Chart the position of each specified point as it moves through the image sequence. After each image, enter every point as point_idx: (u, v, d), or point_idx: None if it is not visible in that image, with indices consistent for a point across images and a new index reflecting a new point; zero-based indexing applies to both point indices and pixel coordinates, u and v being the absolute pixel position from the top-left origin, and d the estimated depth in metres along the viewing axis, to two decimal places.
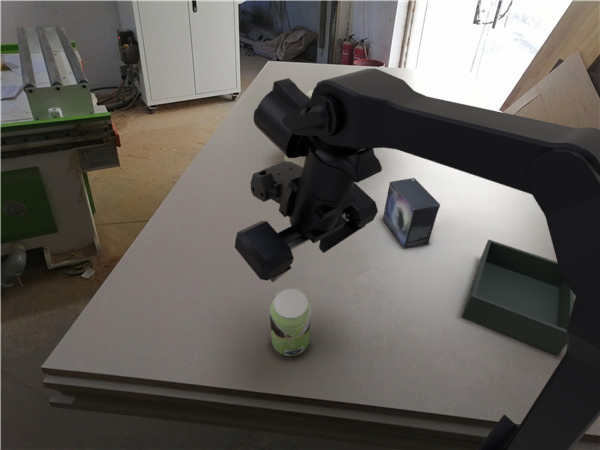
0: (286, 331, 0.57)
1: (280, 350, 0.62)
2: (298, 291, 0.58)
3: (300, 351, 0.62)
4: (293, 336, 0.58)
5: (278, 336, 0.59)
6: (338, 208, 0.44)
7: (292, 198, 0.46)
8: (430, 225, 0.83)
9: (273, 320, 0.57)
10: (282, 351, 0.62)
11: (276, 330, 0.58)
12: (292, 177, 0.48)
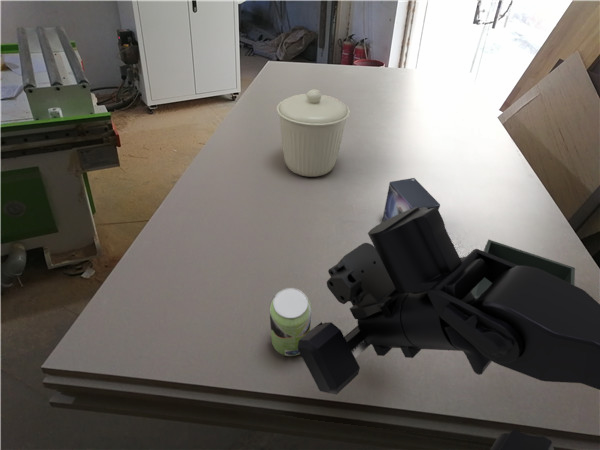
0: (286, 331, 0.57)
1: (280, 350, 0.62)
2: (298, 291, 0.58)
3: None
4: (293, 336, 0.58)
5: (278, 336, 0.59)
6: None
7: None
8: None
9: (273, 320, 0.57)
10: (282, 351, 0.62)
11: (276, 330, 0.58)
12: (378, 282, 0.42)
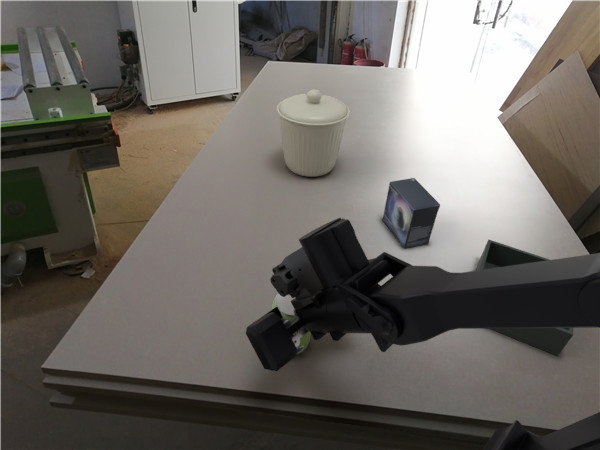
0: None
1: None
2: None
3: (300, 350, 0.62)
4: (294, 334, 0.58)
5: None
6: None
7: (309, 303, 0.50)
8: (430, 225, 0.83)
9: None
10: None
11: None
12: (312, 278, 0.50)
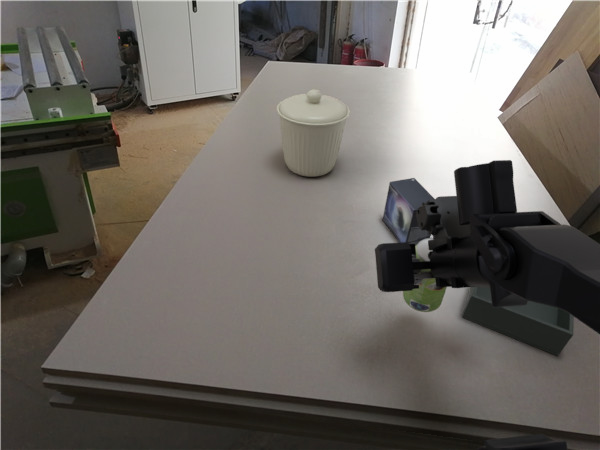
0: None
1: (406, 298, 0.63)
2: None
3: (425, 309, 0.61)
4: (423, 284, 0.58)
5: None
6: None
7: (443, 245, 0.49)
8: None
9: None
10: (408, 300, 0.62)
11: None
12: (457, 225, 0.49)
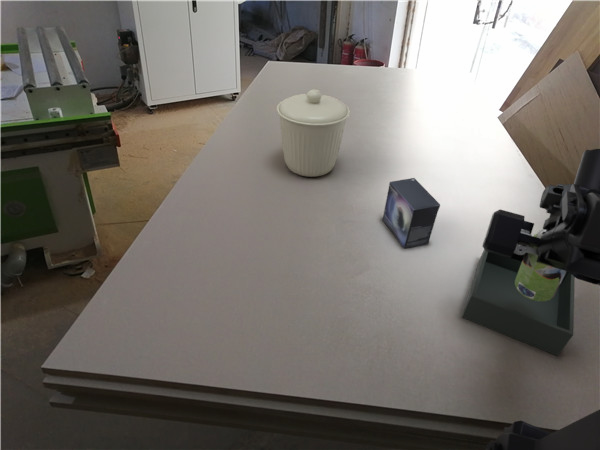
0: (530, 256, 0.61)
1: (516, 280, 0.66)
2: None
3: (530, 295, 0.64)
4: (533, 267, 0.61)
5: (523, 261, 0.64)
6: (565, 263, 0.51)
7: (554, 224, 0.54)
8: (430, 225, 0.83)
9: None
10: (517, 283, 0.66)
11: (525, 254, 0.63)
12: None
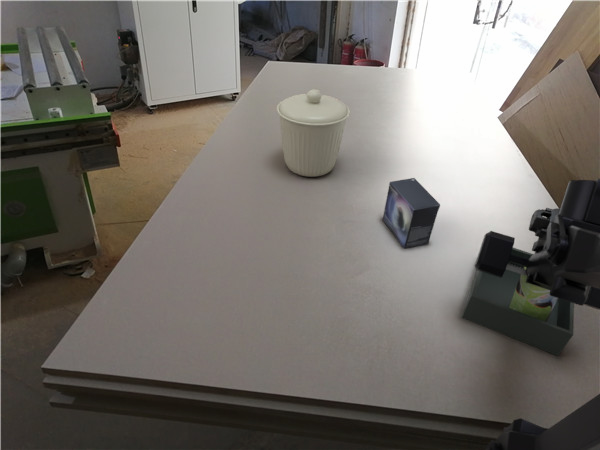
0: (522, 286, 0.65)
1: (511, 307, 0.70)
2: None
3: None
4: (525, 297, 0.65)
5: (516, 290, 0.67)
6: (551, 286, 0.53)
7: (542, 247, 0.56)
8: (430, 225, 0.83)
9: None
10: None
11: (517, 283, 0.67)
12: None
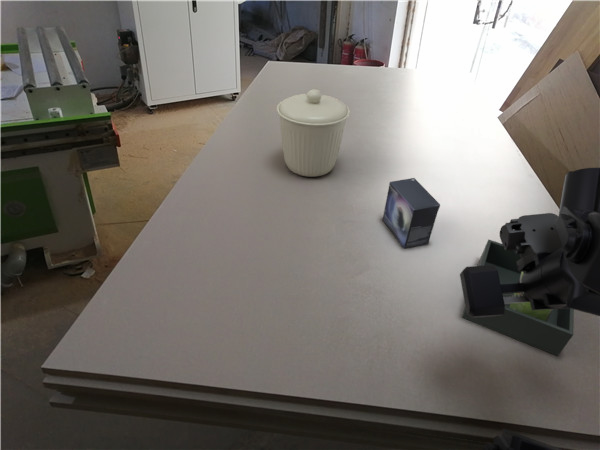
0: None
1: (511, 307, 0.70)
2: None
3: None
4: None
5: None
6: None
7: (532, 263, 0.47)
8: (430, 225, 0.83)
9: (521, 272, 0.66)
10: None
11: None
12: (545, 241, 0.47)
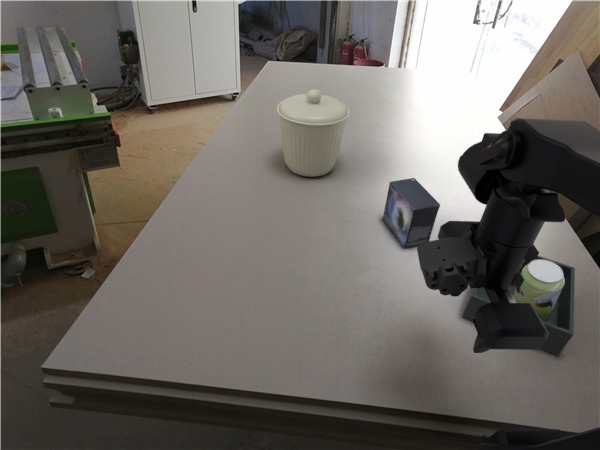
0: (522, 286, 0.65)
1: None
2: (560, 271, 0.63)
3: None
4: (525, 297, 0.65)
5: (516, 290, 0.67)
6: None
7: None
8: (430, 225, 0.83)
9: (521, 272, 0.66)
10: None
11: None
12: (458, 251, 0.45)
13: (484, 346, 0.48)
